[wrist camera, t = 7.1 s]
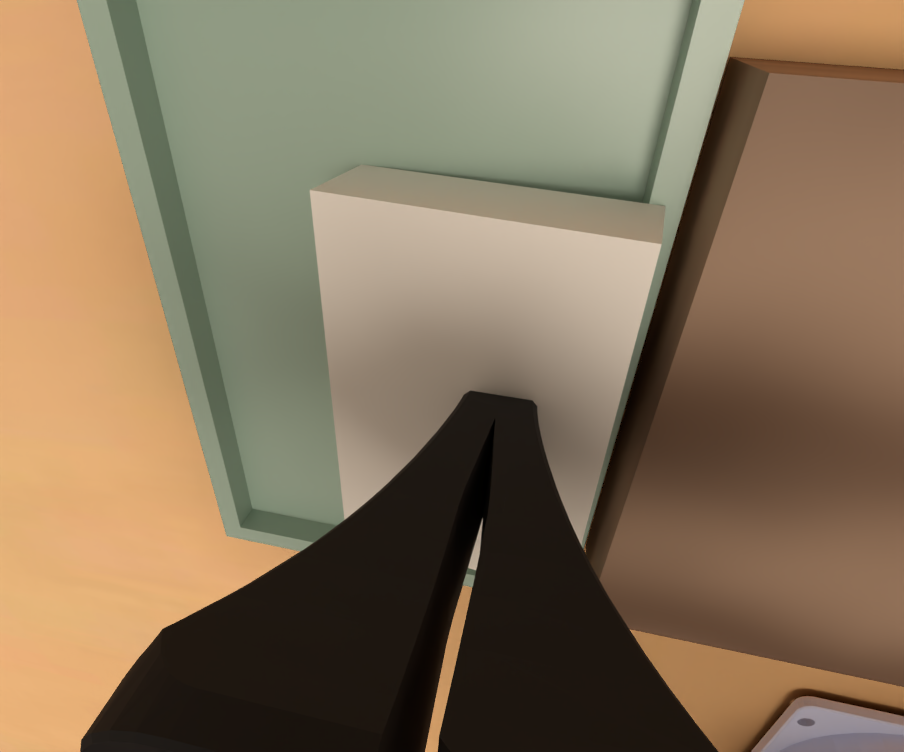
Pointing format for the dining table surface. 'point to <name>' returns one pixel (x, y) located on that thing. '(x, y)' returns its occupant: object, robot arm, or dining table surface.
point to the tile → (476, 316)
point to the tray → (376, 144)
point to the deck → (774, 386)
